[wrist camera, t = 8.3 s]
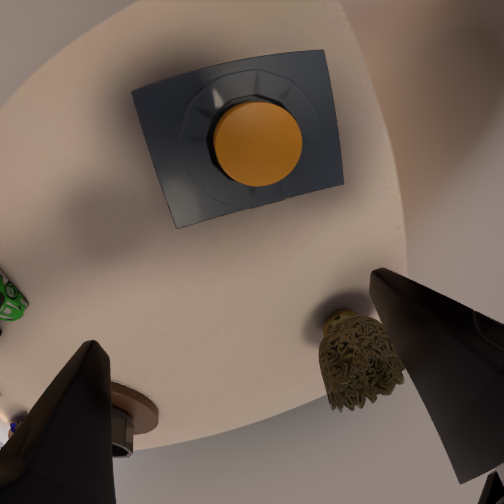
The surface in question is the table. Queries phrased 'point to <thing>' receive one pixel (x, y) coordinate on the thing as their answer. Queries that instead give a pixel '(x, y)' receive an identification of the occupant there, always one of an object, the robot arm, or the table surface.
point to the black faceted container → (122, 434)
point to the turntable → (135, 408)
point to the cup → (357, 360)
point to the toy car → (10, 301)
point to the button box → (207, 116)
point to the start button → (257, 143)
